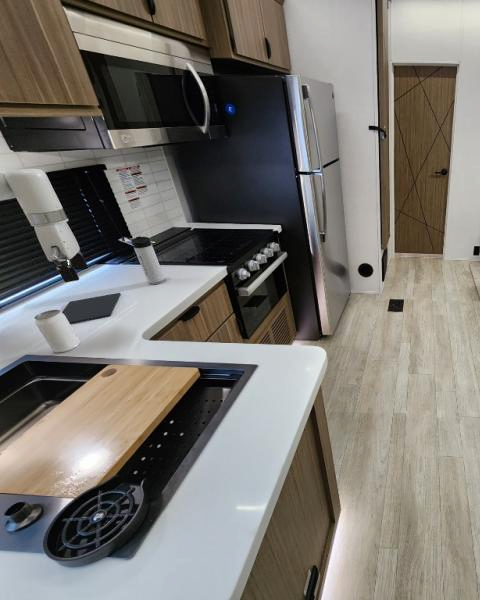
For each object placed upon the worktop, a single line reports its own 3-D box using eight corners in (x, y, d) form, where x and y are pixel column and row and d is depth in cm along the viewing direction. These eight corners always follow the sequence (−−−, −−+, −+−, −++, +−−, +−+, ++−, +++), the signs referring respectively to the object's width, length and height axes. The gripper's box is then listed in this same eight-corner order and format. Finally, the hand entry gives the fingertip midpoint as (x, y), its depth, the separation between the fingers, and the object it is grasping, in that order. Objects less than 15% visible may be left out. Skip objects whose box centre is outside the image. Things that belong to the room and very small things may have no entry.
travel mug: (163, 277, 150) (146, 234, 140) (167, 281, 146) (150, 238, 136) (147, 281, 146) (129, 238, 137) (150, 286, 142) (132, 241, 132)
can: (49, 355, 100) (27, 322, 94) (58, 344, 105) (38, 311, 99) (76, 350, 102) (56, 317, 96) (83, 339, 107) (65, 307, 102)
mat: (52, 327, 113) (51, 325, 113) (70, 303, 129) (69, 301, 129) (110, 316, 120) (109, 314, 120) (120, 294, 136) (120, 292, 135)
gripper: (41, 212, 95) (70, 267, 103) (15, 227, 82) (50, 288, 90) (74, 209, 98) (100, 263, 106) (55, 223, 85) (85, 283, 93)
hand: (77, 274), depth 98 cm, fingers open, 9 cm apart
